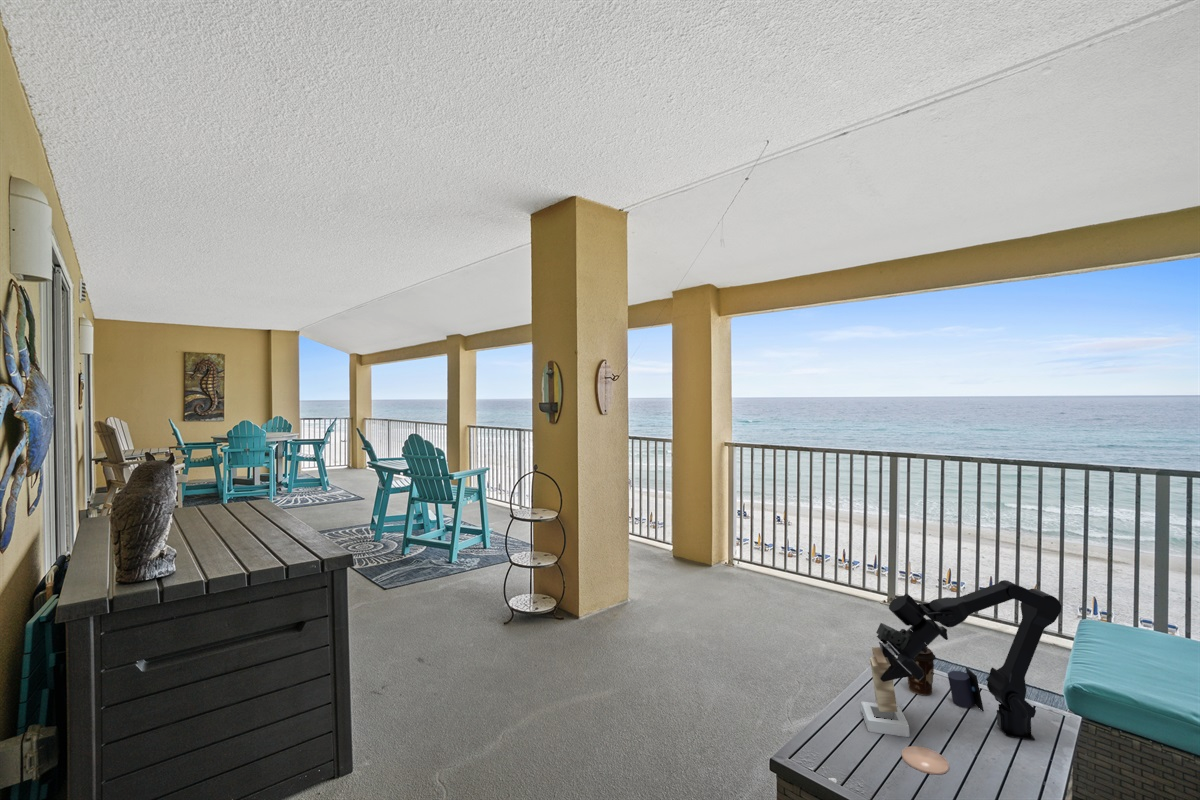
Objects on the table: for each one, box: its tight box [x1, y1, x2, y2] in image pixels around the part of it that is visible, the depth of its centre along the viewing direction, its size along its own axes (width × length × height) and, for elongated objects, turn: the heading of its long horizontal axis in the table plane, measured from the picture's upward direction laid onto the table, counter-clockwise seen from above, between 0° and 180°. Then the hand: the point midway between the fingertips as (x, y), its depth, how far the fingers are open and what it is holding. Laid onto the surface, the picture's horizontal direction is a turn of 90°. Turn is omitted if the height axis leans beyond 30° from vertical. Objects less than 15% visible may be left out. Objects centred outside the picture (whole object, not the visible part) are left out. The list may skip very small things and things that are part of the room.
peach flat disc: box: [901, 745, 950, 775], centre depth 132 cm, size 10×10×1 cm
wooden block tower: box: [869, 646, 898, 712], centre depth 148 cm, size 4×8×15 cm, turn 163°
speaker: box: [946, 667, 985, 712], centre depth 158 cm, size 8×6×10 cm
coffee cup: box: [906, 646, 936, 696], centre depth 166 cm, size 9×8×13 cm
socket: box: [860, 701, 910, 738], centre depth 148 cm, size 10×10×3 cm
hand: (877, 675), depth 149 cm, fingers closed on wooden block tower, 6 cm apart
